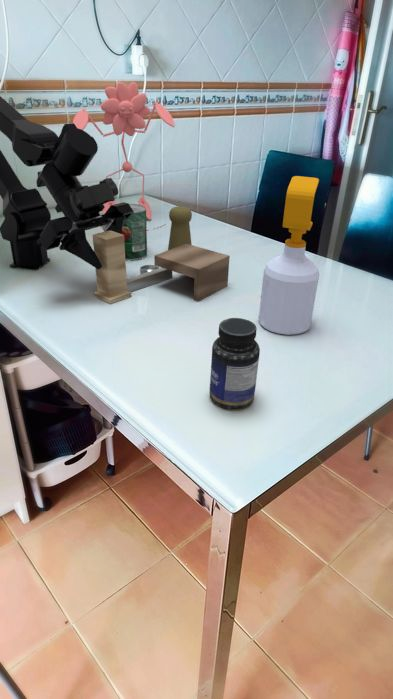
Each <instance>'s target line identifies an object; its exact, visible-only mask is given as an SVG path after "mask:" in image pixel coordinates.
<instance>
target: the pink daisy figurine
mask: <svg viewBox="0 0 393 699" xmlns="http://www.w3.org/2000/svg"><path fill="white" fill-rule="evenodd" d="M139 92H140V91H139V87H138V84H137V82H135V81H131V82H130V83H129V85H127V84H126V83H124V82H123V81H118V82H117V83H116V87H115V86H107V87H106V88H105V89H104V93H105V95H106V97H107V99H105V100H104V101H103V102H102V103H101V105H100V109H101V111H103V112H104V114H103V115H102V123H103V124H104V125H107V126H108V125H111V124H112V130H113V131H111V132H108V133H103V132H102V130H101V129H100V127H99V126H98V125H97V123H96V122H95V121H94V120H93V118H92V117H91V116H90V114H89V113H88V111H87V110H86V108H84V107H82V109H81V110H79V111H78V112H77V113H76V115H74V118H73V120H72V123H74V124H75V125H76V127H77V128H78V129H81V130H83V131H84V129H86V127H87V125H88V123H89V121H90V122H91V123H92V124H93V126H94V127H95V128H96V129H97V131H98V132H99V133H100V134H101V136H102V137H103V138H104V137H108V136H110V135H114V134H115V136H120V135H122V136H121V143H120V145H121V147H122V150H123V154H124V158H125V161H124V162H123V163H122V165H121V169H119V170H117V171H114V172H113V173H111V174H107V175H106V176H105V179H107V178H110V177H111V176H113V175H115V174H117V173H119V172H122V171H123V172H124V173H130V172H132V171H134V172H135V173H137V174H139V175H140V176H142V192H141V193H142V197H139V198H138V204H139V205H143V206H145V207H146V219H147V220H149V221H151V220H152V209H151V206H150V204H149V202H148V201H147V200H146V199H145V198H144V196H145V194H144V192H145V175H144V174H143V173H141V172H139V171H138V170H137V169H135V168H133V165H132V163H131V162H129V160H128V157H127V153H126V148H125V144H124V141H125V140H124V139H125V134H126V135H127V136H129V137H133V136H135V133H142V134H146V132H147V130H148V126H149V125H150V122H151V119H152V117H153V115H154V112H155V111H156V113H157V115H158V117H159V118H160V120H162V121H163V122H164V123H165V124H167V125H169V127H172V128H175V127H176V126H175V122H174V118H173V116H172V115H171V113H170V112H169V110H167V108H166V107H165V106H163V105H162V104H160V103H158V102H156V101H155V102H154V103H153V107H152V110H151V109H150V107H149V106H147V105H146V103H147V99H148V98H147V94H146V93H139ZM148 115H149V117H148V119H147V121H146V120H145V119H144V118H146V117H147V116H148ZM142 129H144V130H142ZM114 204H116V202H115V200H114V201H109V202H107V203H105V204H103V205H104V207H105V208H104V209H103V210H102V215H103V214H105V213H106V211H107V210H108V209H109V207H110V206H111V205H114ZM163 226H165V224H163V225H161V226H159V227H160V228H162V227H163ZM159 227H155V228H154V230H156V228H157V229H158V228H159ZM160 228H159V229H160Z"/></svg>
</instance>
